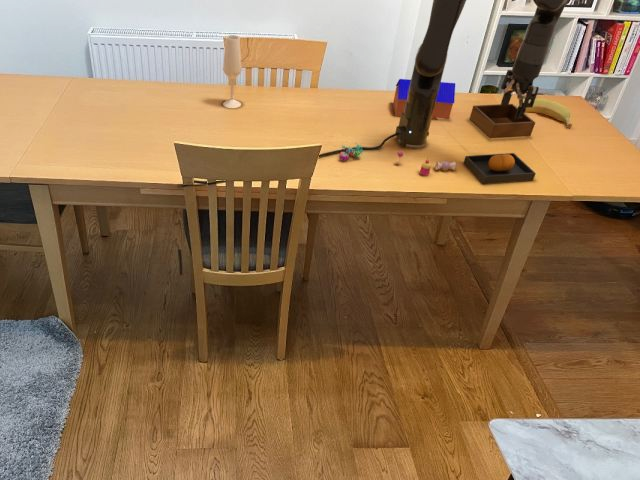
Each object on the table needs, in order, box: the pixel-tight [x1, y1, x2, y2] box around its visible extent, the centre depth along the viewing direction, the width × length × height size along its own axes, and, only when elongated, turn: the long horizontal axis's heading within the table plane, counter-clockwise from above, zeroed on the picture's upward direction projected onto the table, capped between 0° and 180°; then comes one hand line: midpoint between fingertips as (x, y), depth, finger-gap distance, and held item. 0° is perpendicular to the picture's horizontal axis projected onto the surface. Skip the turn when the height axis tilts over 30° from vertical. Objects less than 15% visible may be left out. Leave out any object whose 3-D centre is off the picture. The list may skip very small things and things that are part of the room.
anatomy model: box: [339, 142, 364, 161], centre depth 188 cm, size 5×8×7 cm
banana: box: [515, 98, 573, 129], centre depth 217 cm, size 14×6×20 cm
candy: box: [397, 150, 457, 176], centre depth 183 cm, size 18×8×6 cm, turn 91°
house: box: [392, 78, 456, 120], centre depth 215 cm, size 12×20×12 cm, turn 84°
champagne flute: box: [222, 34, 243, 109], centre depth 209 cm, size 7×7×24 cm
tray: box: [463, 152, 536, 185], centre depth 185 cm, size 17×13×3 cm
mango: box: [488, 153, 515, 172], centre depth 184 cm, size 8×5×5 cm, turn 101°
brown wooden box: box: [469, 103, 536, 139], centre depth 208 cm, size 16×16×6 cm
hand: (510, 112), depth 177 cm, fingers open, 8 cm apart
